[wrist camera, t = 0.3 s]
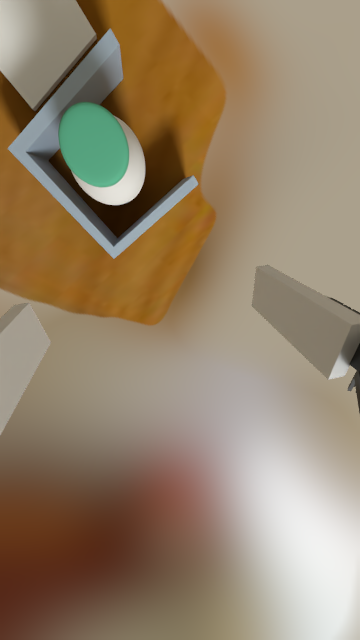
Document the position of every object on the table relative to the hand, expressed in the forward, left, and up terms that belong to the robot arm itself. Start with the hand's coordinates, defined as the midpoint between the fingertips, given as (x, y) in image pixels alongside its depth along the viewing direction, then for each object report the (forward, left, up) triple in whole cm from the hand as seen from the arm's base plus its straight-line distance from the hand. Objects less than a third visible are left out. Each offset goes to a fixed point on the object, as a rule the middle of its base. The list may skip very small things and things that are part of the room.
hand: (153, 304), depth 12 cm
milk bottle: (-9, +3, -28) cm, 29 cm away
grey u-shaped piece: (-9, +3, -28) cm, 29 cm away
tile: (-25, +5, -28) cm, 37 cm away
